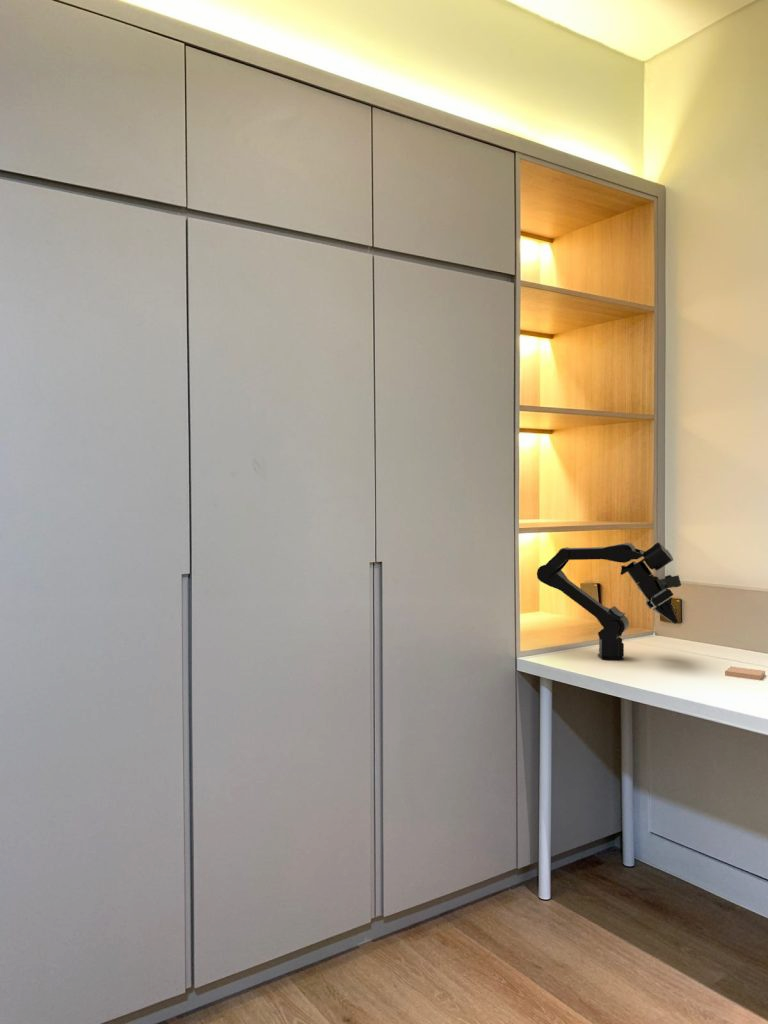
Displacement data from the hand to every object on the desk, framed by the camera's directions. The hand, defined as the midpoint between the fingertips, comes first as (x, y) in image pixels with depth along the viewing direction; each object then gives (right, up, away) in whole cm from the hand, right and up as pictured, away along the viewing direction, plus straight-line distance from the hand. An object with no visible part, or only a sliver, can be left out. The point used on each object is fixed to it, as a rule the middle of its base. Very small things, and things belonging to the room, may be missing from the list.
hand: (676, 623), depth 230 cm
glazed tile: (+11, -12, -10) cm, 19 cm away
